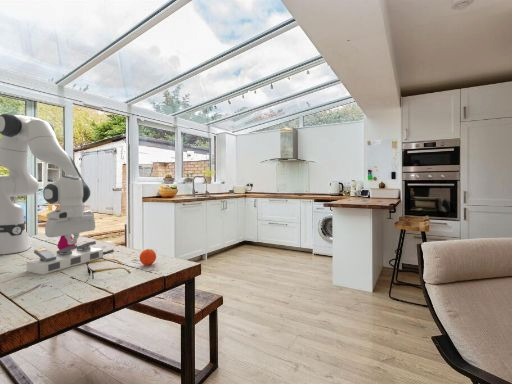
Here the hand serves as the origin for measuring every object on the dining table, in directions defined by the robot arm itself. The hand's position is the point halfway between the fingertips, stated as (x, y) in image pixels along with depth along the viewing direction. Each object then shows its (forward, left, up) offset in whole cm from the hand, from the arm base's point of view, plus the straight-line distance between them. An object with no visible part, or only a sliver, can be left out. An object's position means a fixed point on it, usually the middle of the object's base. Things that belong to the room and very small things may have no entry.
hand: (72, 243), depth 124 cm
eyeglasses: (+21, 0, -10) cm, 23 cm away
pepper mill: (-19, +10, -9) cm, 23 cm away
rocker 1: (-4, -9, -3) cm, 10 cm away
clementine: (+30, +14, -9) cm, 34 cm away
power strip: (-3, +5, -9) cm, 11 cm away
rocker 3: (-4, +9, -3) cm, 10 cm away
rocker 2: (-4, 0, -3) cm, 5 cm away
